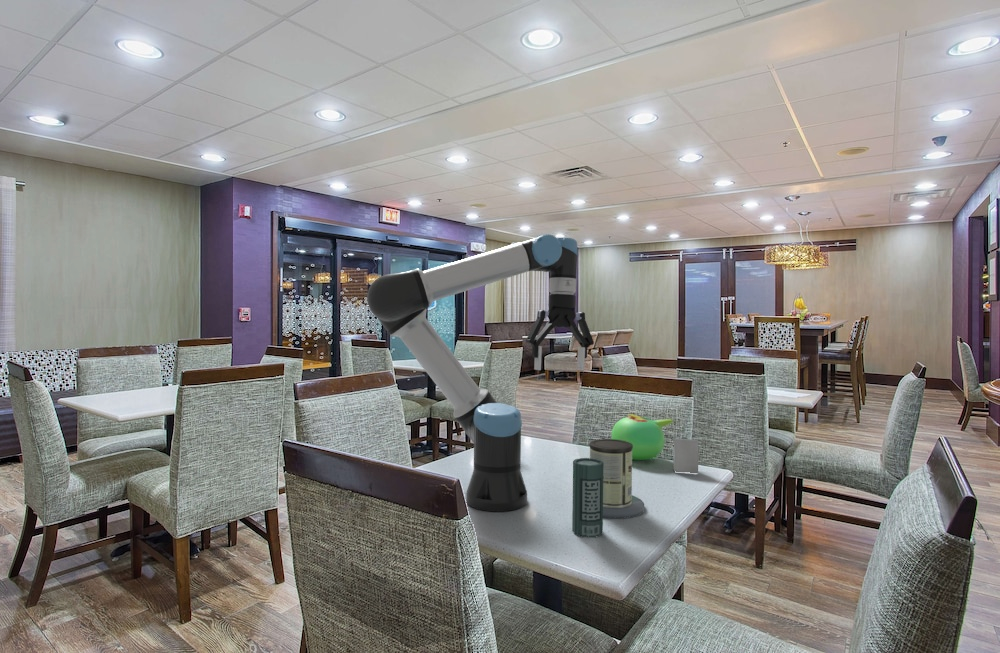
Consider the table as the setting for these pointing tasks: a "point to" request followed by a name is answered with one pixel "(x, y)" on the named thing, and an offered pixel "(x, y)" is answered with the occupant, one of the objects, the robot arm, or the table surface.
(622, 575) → the table surface
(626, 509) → the stoneware plate
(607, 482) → the coffee can
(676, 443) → the grey box
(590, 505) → the can
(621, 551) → the table surface
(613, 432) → the toy bird
